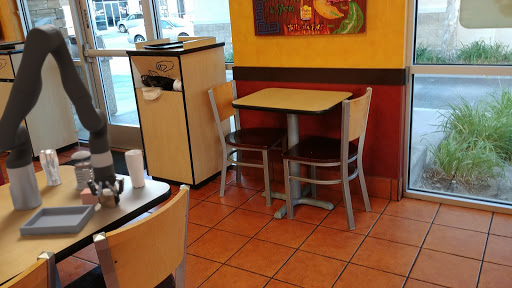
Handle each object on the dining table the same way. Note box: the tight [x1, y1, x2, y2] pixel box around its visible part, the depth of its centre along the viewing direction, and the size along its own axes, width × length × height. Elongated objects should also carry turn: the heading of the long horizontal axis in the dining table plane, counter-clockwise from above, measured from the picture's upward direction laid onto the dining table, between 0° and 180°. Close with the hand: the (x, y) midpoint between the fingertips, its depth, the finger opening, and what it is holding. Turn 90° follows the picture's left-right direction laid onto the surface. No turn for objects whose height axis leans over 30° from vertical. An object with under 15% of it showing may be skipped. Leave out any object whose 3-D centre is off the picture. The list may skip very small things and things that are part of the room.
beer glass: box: [38, 148, 63, 187], centre depth 199 cm, size 7×7×15 cm
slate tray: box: [18, 204, 96, 237], centre depth 163 cm, size 20×16×3 cm
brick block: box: [79, 187, 99, 206], centre depth 178 cm, size 5×5×5 cm
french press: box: [70, 129, 98, 191], centre depth 193 cm, size 10×12×25 cm
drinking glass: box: [124, 149, 146, 189], centre depth 189 cm, size 7×7×15 cm
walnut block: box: [99, 190, 118, 210], centre depth 174 cm, size 5×5×5 cm
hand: (110, 204), depth 175 cm, fingers closed on walnut block, 5 cm apart
